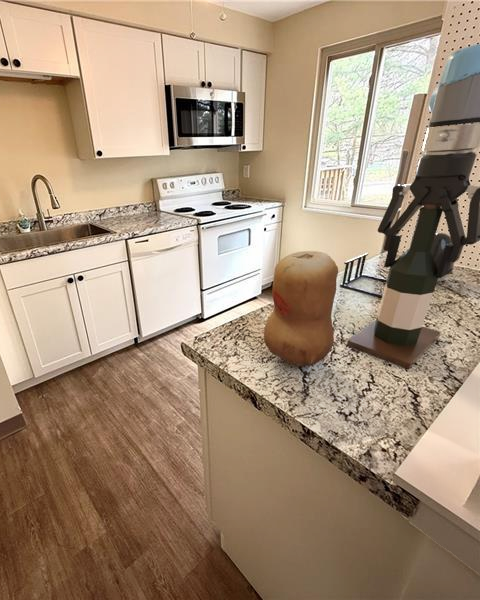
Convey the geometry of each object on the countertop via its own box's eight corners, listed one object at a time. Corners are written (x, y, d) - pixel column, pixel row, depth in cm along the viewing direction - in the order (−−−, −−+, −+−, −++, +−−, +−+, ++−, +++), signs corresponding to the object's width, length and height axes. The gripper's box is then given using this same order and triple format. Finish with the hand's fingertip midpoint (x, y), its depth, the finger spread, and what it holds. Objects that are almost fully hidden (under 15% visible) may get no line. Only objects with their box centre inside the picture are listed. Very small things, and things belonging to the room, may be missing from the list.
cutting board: (380, 319, 82) (381, 314, 81) (439, 337, 72) (441, 331, 72) (346, 345, 73) (347, 340, 72) (408, 369, 64) (410, 363, 63)
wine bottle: (404, 327, 75) (443, 198, 62) (426, 346, 68) (475, 205, 55) (366, 326, 77) (396, 201, 64) (383, 345, 69) (421, 208, 56)
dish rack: (361, 275, 108) (366, 252, 104) (409, 287, 97) (417, 261, 93) (338, 286, 102) (343, 262, 98) (387, 299, 91) (394, 273, 87)
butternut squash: (251, 348, 75) (258, 249, 65) (300, 338, 77) (315, 240, 67) (286, 385, 63) (302, 270, 52) (344, 371, 65) (370, 258, 54)
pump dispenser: (417, 271, 107) (430, 227, 100) (455, 280, 98) (472, 232, 91) (399, 278, 103) (411, 233, 97) (437, 288, 94) (453, 239, 88)
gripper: (372, 157, 62) (351, 263, 72) (530, 150, 46) (474, 290, 55) (391, 153, 66) (368, 256, 75) (545, 146, 49) (490, 279, 58)
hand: (413, 270), depth 65 cm, fingers closed on wine bottle, 8 cm apart
